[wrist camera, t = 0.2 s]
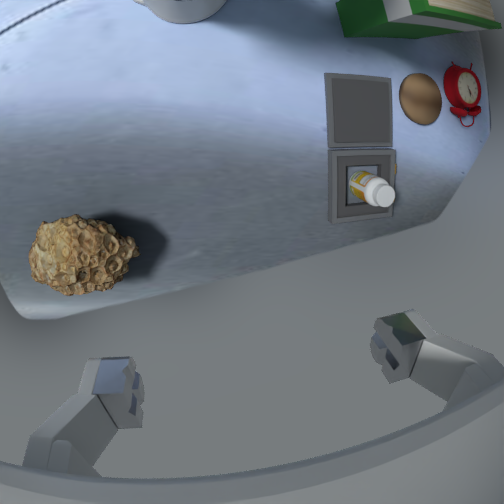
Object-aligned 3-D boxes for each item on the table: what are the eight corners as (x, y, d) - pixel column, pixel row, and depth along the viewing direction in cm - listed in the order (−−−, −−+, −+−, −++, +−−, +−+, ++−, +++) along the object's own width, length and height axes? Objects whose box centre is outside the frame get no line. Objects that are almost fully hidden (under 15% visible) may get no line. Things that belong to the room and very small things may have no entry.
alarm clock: (477, 61, 49) (495, 123, 52) (460, 67, 55) (477, 125, 58) (448, 59, 48) (468, 126, 51) (432, 66, 54) (450, 129, 58)
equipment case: (324, 73, 50) (328, 72, 48) (390, 78, 52) (396, 78, 50) (328, 220, 62) (332, 223, 60) (389, 213, 64) (394, 216, 62)
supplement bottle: (368, 197, 62) (394, 212, 53) (346, 194, 61) (370, 209, 52) (373, 172, 60) (401, 183, 51) (351, 168, 58) (376, 179, 50)
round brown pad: (397, 70, 51) (401, 70, 50) (436, 77, 53) (440, 77, 51) (399, 122, 56) (403, 122, 55) (437, 125, 57) (441, 125, 56)
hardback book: (408, 8, 45) (490, -13, 24) (415, 38, 49) (501, 28, 27) (335, 3, 44) (410, -38, 23) (344, 37, 47) (426, 10, 26)
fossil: (46, 300, 55) (11, 308, 40) (37, 230, 55) (0, 221, 41) (152, 282, 59) (139, 286, 45) (140, 208, 60) (125, 190, 45)
